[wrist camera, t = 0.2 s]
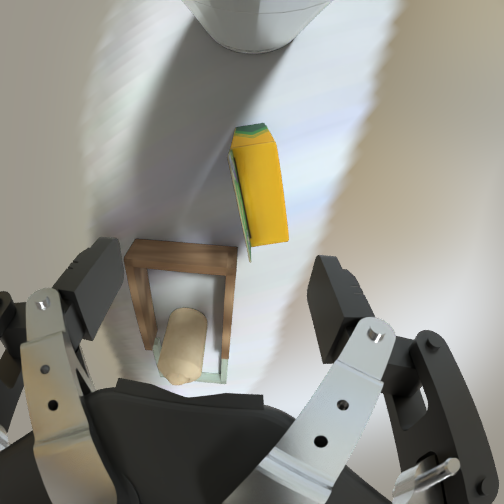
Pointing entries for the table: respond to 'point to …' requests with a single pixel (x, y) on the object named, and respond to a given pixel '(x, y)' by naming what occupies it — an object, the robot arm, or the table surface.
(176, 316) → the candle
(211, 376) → the mint green u-bracket
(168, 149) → the table surface
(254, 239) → the crayon box
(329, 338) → the robot arm
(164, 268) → the cubby
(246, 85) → the table surface
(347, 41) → the table surface
